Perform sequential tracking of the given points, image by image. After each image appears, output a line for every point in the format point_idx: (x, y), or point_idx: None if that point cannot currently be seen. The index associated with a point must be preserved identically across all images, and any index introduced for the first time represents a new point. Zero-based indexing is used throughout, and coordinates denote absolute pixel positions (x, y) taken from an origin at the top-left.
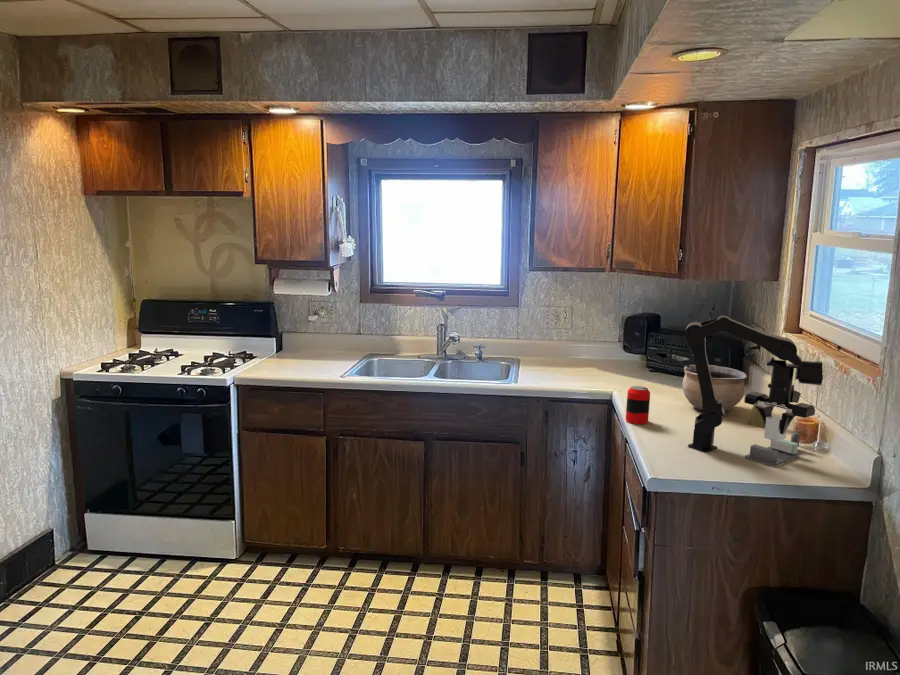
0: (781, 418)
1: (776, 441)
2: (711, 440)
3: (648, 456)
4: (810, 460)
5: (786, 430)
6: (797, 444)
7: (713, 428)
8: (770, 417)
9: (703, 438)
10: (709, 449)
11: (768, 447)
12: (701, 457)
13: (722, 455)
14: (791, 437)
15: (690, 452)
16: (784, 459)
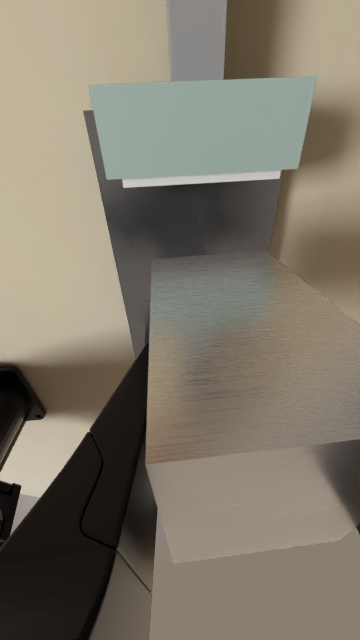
0: (349, 511)
1: (158, 185)
2: (10, 427)
3: (36, 493)
4: (353, 104)
5: (302, 282)
6: (310, 93)
7: (11, 512)
8: (219, 554)
9: (6, 457)
10: (34, 405)
11: (100, 167)
12: (79, 436)
13: (86, 392)
14: None
15: (32, 436)
16: None
